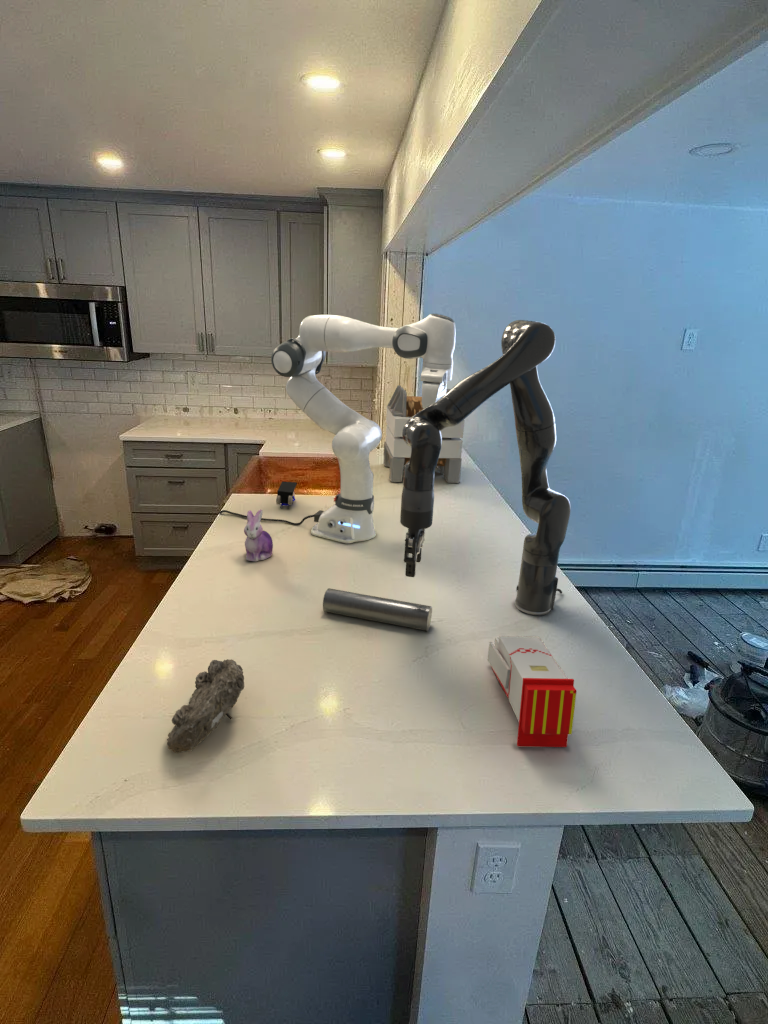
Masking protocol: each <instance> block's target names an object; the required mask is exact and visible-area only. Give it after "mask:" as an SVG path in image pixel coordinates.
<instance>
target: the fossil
mask: <svg viewBox="0 0 768 1024" xmlns="http://www.w3.org/2000/svg"><path fill="white" fill-rule="evenodd" d="M243 670H244V669H243V667H242V665H240V664H237V662H236V661H235V660H234V659H232V658H231V659H227V658H226V659H224V660H223V661H222V660H217V659H212V660H211V661H210V663H209V665H208V666H207V671H201V672H199V673H198V674H197V675H196V676H195V680H194V684H195V685H194V687H195V689H194V690H193V693H192V694H191V697H190V698H189V700H188V704H184V705H182V706H181V707H180V709H177V710H176V711H175V713H174V715H173V716H172V718H171V723H172V724H173V727H172V730H171V731H170V732H168V734H167V738H166V741H167V742H166V745H167V749H168V750H169V751H173V752H174V753H176V754H178V753H182V752H188V751H189V752H192V751H193V750H195V748H196V747H197V746H199V744H200V743H201V742H203V741H204V740H205V739H206V738H207V737H208V736H209V735H210V734H211V733H212V732H214V730H215V729H217V727H218V726H219V724H220V722H221V721H222V720H223V719H224V718H225V716H226V717H227V719H229V720H233V717H232V715H230V714H229V710H230V709H231V708H234V706H235V704H236V703H237V702H238V699H239V697H240V695H241V693H242V691H243V690H245V689H244V688H245V675H244V671H243Z"/></svg>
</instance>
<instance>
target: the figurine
mask: <svg viewBox="0 0 768 1024" xmlns="http://www.w3.org/2000/svg"><path fill="white" fill-rule="evenodd" d="M263 513H264V512H263V509H261V508H260V509H259V510H258V511H257V512H256V513H255V514H254V513H253V511H252V510H247V513H246V516H247V518H246V521H247V522H246V524H245V526H244V529H243V532H244V535H245V536H246V538H245V540H244V549H245V551H246V554H245V560H246V561H250V562H259V561H264V560H267V559H269V558H270V557H272V556H273V548H274V543H273V538H272V536H271V534H270V533H269V532H267V531H265V530H263V526H262V524H261V522H262V520H261V518H263Z"/></svg>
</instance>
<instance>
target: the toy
mask: <svg viewBox="0 0 768 1024" xmlns="http://www.w3.org/2000/svg"><path fill="white" fill-rule="evenodd" d="M488 643H489V644H488V651H487V658H486V659H487V662H488V664H489V666H490V668H491V669H492V672H493V674H494V675H495V677H496V679H497V681H498V682H499V684H500V687H501V688H502V691H503V692H504V694H505V697H507V699H508V702H509V705H510V706H511V709H512V710H513V713H514V714H515V717H516V720H517V721H518V728H517V729H518V730H517V741H516V746H517V747H520V748H521V747H522V748H523V747H525V748H527V747H529V748H531V747H532V748H533V747H534V748H545V747H546V748H567V747H568V740H569V735H572V733H573V725H574V716H575V708H576V700H577V689H576V687H575V686H574V685H575V679H574V678H569V677H568V676H567V675H566V673H565V672H564V670H563V669H562V668H561V667H560V665H559V663H558V662H557V661H556V659H555V658H554V656H553V654H552V653H551V652H550V650H549V649H548V648H547V646H546V644H545V642H544V641H543V640H542V639H541V638H540V636H534V635H533V636H532V635H530V636H527V635H526V636H525V635H524V636H523V635H498V637H497V636H496V637H494V643H493V641H489V642H488Z"/></svg>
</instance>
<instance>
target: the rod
mask: <svg viewBox="0 0 768 1024" xmlns="http://www.w3.org/2000/svg"><path fill="white" fill-rule="evenodd" d="M322 610H323V612H326V613H330V614H336V615H341V616H347V617H353V618H356V619H357V618H358V619H362V620H363V619H364V620H369V621H374V622H378V623H383V624H390V625H394V626H400V627H404V628H405V627H406V628H411V629H415V630H421V631H425V632H426V631H427V632H428V631H429V629H430V626H431V622H432V617H433V607H432V606H431V605H427V604H421V603H415V602H410V601H403V600H397V599H394V598H393V599H392V598H388V597H387V598H386V597H381V596H375V595H370V594H364V593H358V592H354V591H353V592H352V591H346V590H341V589H337V588H330V587H329V588H327V589H326V590H325V592H324V595H323V598H322Z"/></svg>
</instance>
